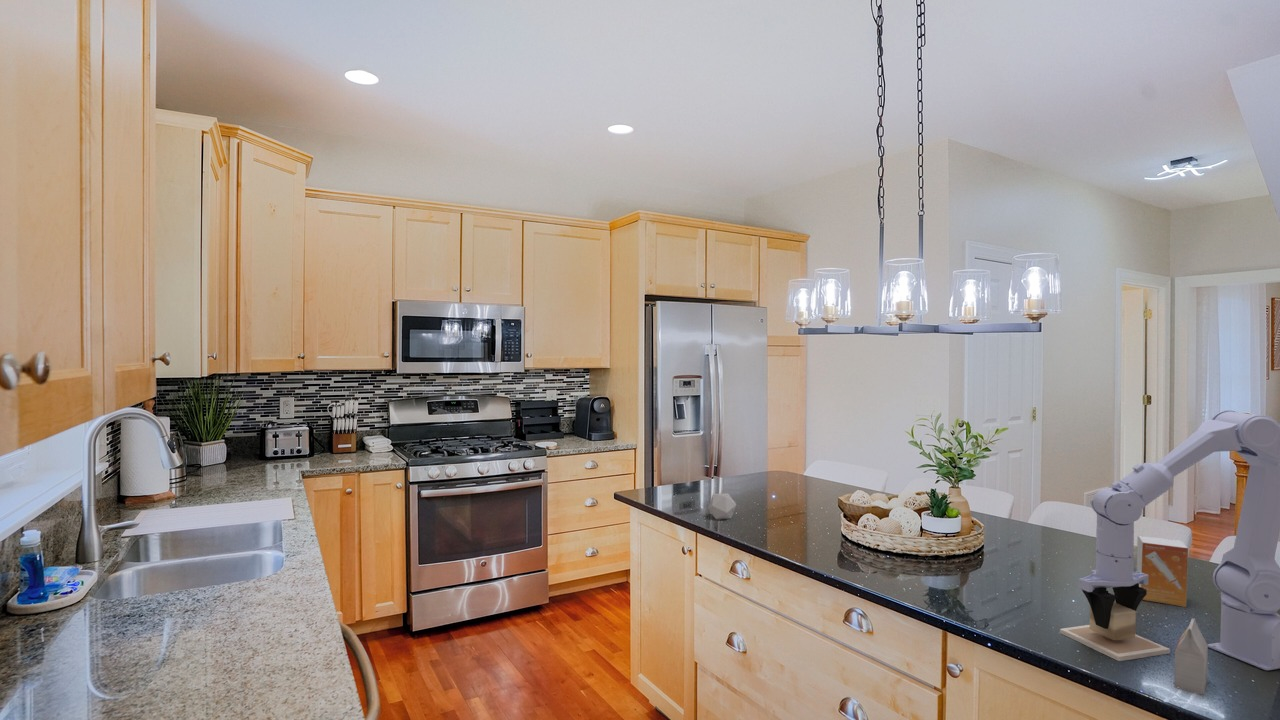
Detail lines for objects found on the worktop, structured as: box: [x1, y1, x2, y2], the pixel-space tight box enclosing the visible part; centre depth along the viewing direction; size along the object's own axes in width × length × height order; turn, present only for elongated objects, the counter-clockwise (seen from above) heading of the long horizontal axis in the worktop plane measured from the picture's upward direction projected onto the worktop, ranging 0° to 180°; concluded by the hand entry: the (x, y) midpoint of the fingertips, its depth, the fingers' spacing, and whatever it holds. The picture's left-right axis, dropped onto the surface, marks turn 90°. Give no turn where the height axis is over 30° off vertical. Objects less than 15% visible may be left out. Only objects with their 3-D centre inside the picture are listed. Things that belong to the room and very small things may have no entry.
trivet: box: [1059, 624, 1171, 662], centre depth 124 cm, size 12×12×1 cm
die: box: [707, 493, 737, 521], centre depth 213 cm, size 8×9×10 cm
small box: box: [1136, 535, 1189, 608], centre depth 145 cm, size 8×6×13 cm
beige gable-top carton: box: [1173, 617, 1209, 696], centre depth 109 cm, size 4×7×10 cm, turn 136°
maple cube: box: [1089, 601, 1137, 640], centre depth 124 cm, size 5×5×5 cm
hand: (1113, 624), depth 124 cm, fingers closed on maple cube, 5 cm apart
